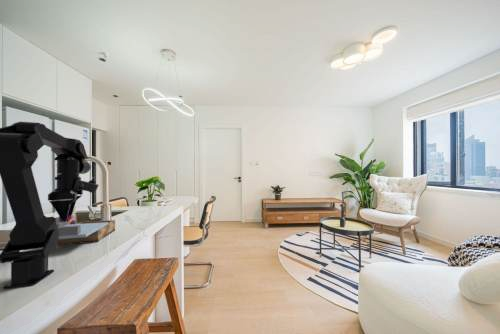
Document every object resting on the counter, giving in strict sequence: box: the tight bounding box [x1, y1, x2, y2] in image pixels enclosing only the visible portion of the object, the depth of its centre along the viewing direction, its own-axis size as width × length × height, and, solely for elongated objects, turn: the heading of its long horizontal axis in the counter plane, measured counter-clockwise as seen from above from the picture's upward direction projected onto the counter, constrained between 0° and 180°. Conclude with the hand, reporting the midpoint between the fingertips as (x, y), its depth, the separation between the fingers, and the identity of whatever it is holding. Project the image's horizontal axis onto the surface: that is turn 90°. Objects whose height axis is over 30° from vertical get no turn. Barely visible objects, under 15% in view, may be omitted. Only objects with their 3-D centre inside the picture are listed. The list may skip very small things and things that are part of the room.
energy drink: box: [58, 206, 76, 226], centre depth 86 cm, size 5×5×12 cm
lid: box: [57, 222, 108, 239], centre depth 71 cm, size 15×15×4 cm
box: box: [57, 219, 116, 246], centre depth 79 cm, size 14×14×5 cm
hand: (67, 217), depth 65 cm, fingers open, 9 cm apart
